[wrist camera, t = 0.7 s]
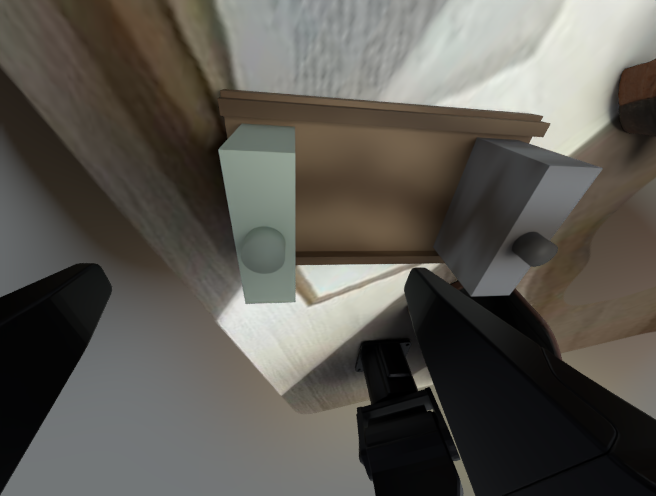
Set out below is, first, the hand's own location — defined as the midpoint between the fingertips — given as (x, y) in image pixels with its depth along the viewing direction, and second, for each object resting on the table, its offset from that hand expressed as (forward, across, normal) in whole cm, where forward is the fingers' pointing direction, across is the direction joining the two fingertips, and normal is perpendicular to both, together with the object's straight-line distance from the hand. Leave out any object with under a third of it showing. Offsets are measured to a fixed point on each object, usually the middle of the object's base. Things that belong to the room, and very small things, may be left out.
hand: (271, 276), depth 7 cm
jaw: (+10, +1, +2) cm, 11 cm away
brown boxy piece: (+12, -7, +2) cm, 14 cm away
